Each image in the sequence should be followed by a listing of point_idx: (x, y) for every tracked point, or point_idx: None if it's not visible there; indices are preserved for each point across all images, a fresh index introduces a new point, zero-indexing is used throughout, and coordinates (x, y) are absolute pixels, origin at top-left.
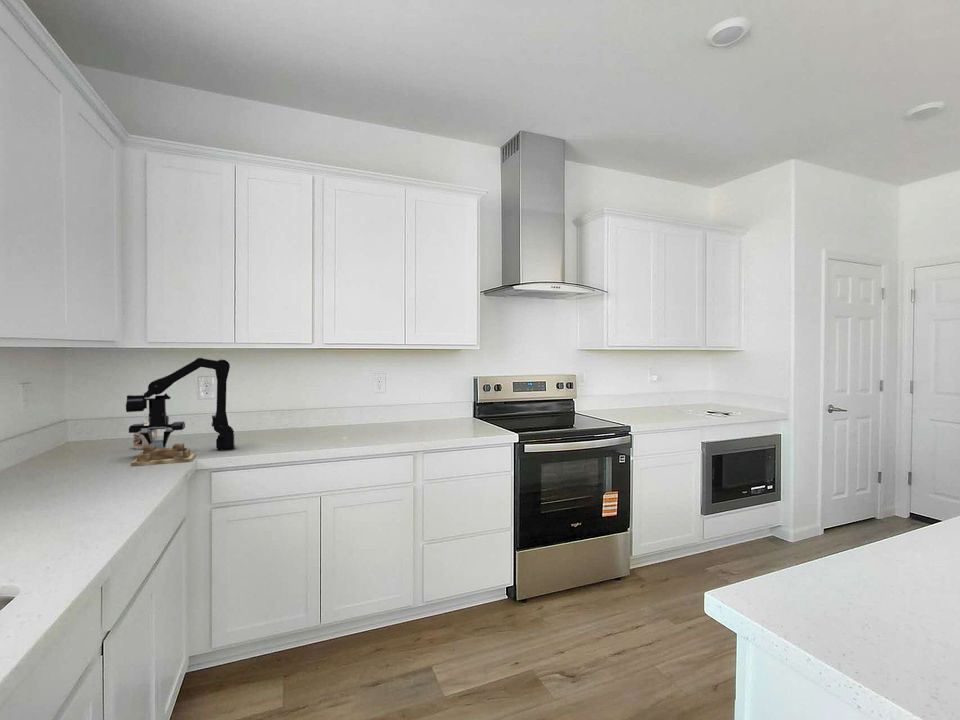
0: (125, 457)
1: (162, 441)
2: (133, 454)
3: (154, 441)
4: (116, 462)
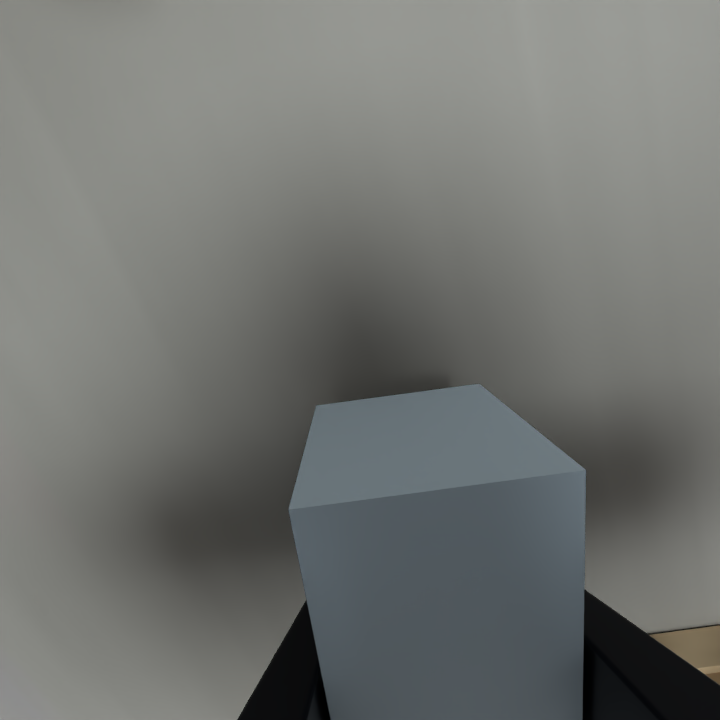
0: (28, 510)
1: (553, 693)
2: (19, 349)
3: (346, 655)
4: (87, 711)
